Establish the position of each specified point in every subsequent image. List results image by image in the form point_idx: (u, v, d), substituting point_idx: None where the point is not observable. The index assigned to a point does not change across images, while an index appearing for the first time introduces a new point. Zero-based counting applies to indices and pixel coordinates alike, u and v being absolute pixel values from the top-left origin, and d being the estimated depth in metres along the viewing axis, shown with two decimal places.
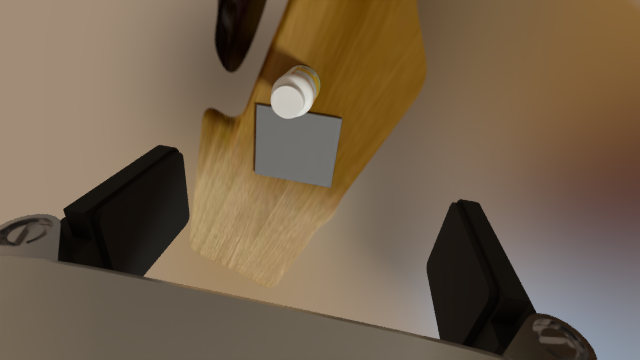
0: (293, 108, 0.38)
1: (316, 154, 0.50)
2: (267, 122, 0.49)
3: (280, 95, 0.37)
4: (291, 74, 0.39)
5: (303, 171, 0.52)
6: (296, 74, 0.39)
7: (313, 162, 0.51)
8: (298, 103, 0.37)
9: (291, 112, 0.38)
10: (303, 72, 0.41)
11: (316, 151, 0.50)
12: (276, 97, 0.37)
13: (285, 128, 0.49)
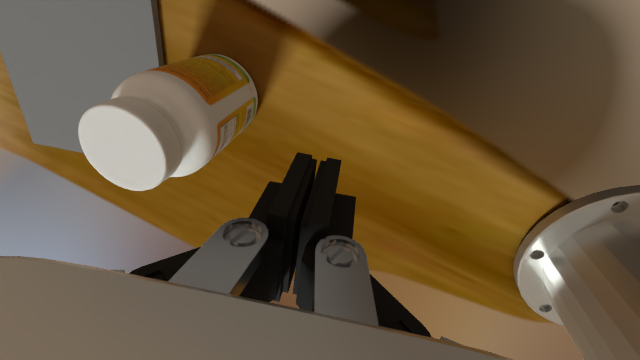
0: (113, 166, 0.14)
1: None
2: (113, 2, 0.19)
3: (134, 136, 0.13)
4: (213, 130, 0.15)
5: (38, 88, 0.23)
6: (217, 139, 0.16)
7: (67, 111, 0.24)
8: (130, 180, 0.14)
9: (101, 160, 0.14)
10: (232, 133, 0.18)
11: None
12: (125, 124, 0.13)
13: (117, 52, 0.21)
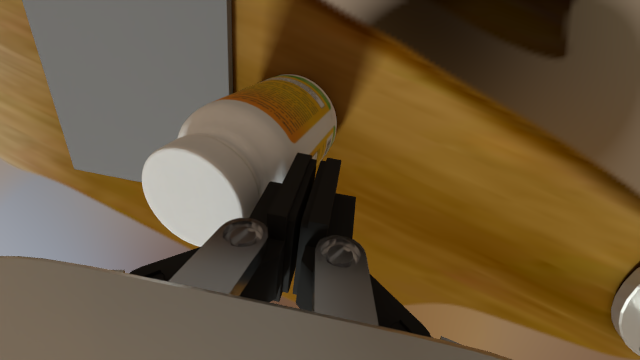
0: (178, 218, 0.11)
1: (138, 144, 0.21)
2: (181, 15, 0.17)
3: (207, 187, 0.10)
4: None
5: (84, 110, 0.21)
6: None
7: (117, 135, 0.21)
8: (197, 235, 0.11)
9: (165, 209, 0.11)
10: None
11: (145, 145, 0.21)
12: (198, 172, 0.10)
13: (181, 71, 0.18)
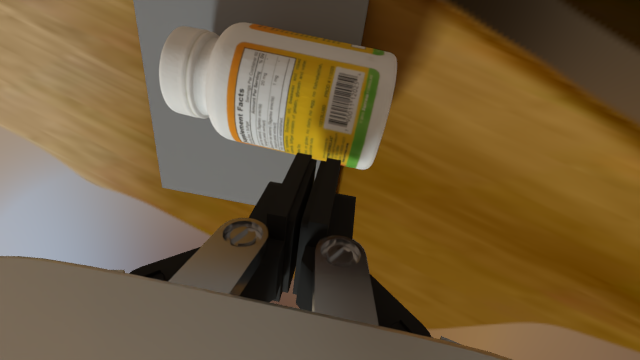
0: None
1: (238, 163, 0.20)
2: (312, 32, 0.16)
3: None
4: (231, 43, 0.12)
5: (184, 128, 0.20)
6: (233, 57, 0.12)
7: (216, 154, 0.20)
8: None
9: None
10: (282, 80, 0.12)
11: (245, 164, 0.20)
12: None
13: None
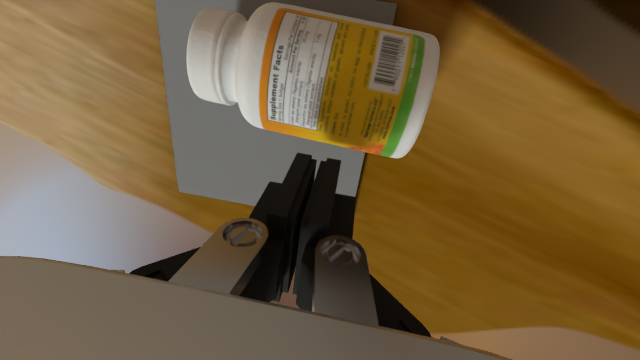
0: None
1: (258, 167, 0.20)
2: None
3: None
4: (271, 8, 0.12)
5: (203, 132, 0.19)
6: (274, 17, 0.12)
7: (235, 158, 0.20)
8: None
9: None
10: (325, 38, 0.12)
11: (265, 168, 0.20)
12: None
13: None
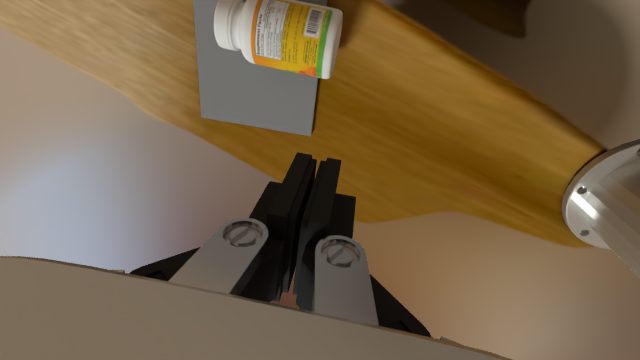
0: None
1: (252, 97, 0.32)
2: None
3: None
4: None
5: (218, 74, 0.31)
6: (258, 0, 0.24)
7: (237, 92, 0.32)
8: None
9: None
10: (283, 11, 0.24)
11: (256, 98, 0.32)
12: None
13: None
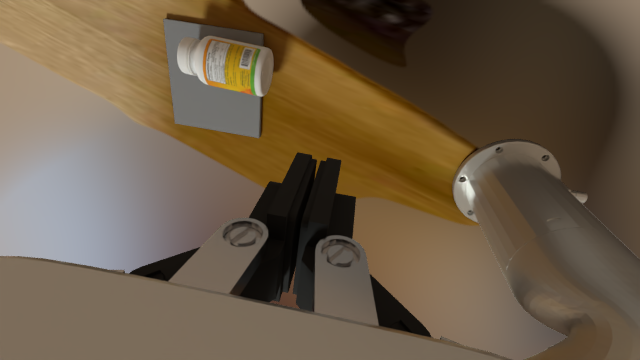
0: None
1: (212, 108, 0.42)
2: None
3: None
4: (207, 39, 0.34)
5: (186, 91, 0.41)
6: (207, 42, 0.34)
7: (201, 104, 0.42)
8: None
9: None
10: (224, 50, 0.33)
11: (216, 108, 0.42)
12: None
13: None
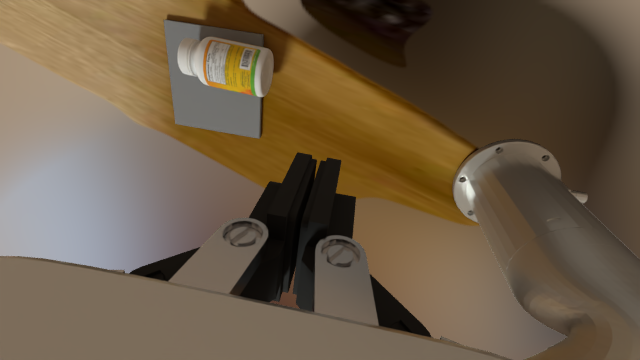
0: None
1: (213, 109, 0.42)
2: None
3: None
4: (207, 39, 0.34)
5: (187, 91, 0.41)
6: (207, 43, 0.34)
7: (202, 104, 0.42)
8: None
9: None
10: (224, 51, 0.34)
11: (216, 109, 0.42)
12: None
13: None
